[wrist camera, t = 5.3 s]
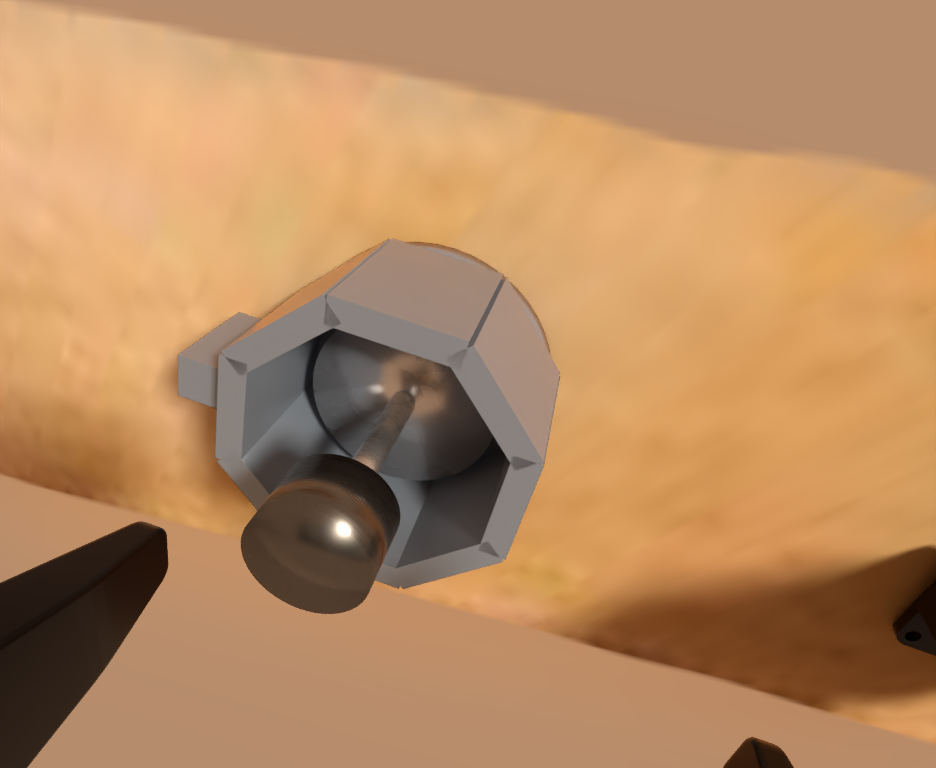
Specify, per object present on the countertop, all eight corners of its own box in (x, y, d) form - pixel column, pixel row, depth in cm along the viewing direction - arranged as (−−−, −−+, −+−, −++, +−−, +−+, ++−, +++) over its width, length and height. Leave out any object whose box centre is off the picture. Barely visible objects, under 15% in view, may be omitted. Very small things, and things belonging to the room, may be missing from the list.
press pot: (590, 292, 19) (579, 378, 14) (510, 500, 23) (481, 618, 18) (271, 189, 19) (155, 237, 14) (254, 411, 24) (163, 504, 19)
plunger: (525, 342, 18) (471, 511, 11) (473, 492, 21) (409, 690, 14) (333, 280, 18) (176, 408, 12) (311, 436, 21) (178, 604, 15)
